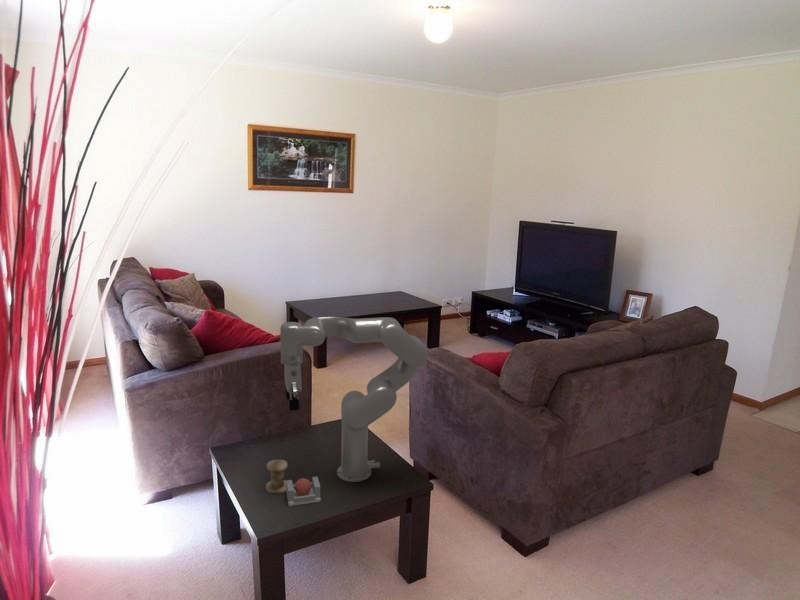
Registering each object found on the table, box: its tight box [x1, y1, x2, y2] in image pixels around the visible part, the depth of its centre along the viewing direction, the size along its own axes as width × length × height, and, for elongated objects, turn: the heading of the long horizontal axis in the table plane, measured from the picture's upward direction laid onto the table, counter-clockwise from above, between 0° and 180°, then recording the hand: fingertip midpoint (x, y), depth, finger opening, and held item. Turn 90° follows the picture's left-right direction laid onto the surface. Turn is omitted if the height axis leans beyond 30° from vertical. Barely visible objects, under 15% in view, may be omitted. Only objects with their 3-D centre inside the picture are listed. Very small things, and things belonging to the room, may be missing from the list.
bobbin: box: [265, 458, 288, 495], centre depth 189 cm, size 8×8×9 cm
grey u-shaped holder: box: [285, 476, 322, 507], centre depth 184 cm, size 11×9×5 cm
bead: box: [294, 477, 311, 495], centre depth 184 cm, size 6×6×6 cm
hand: (292, 404), depth 190 cm, fingers open, 9 cm apart
